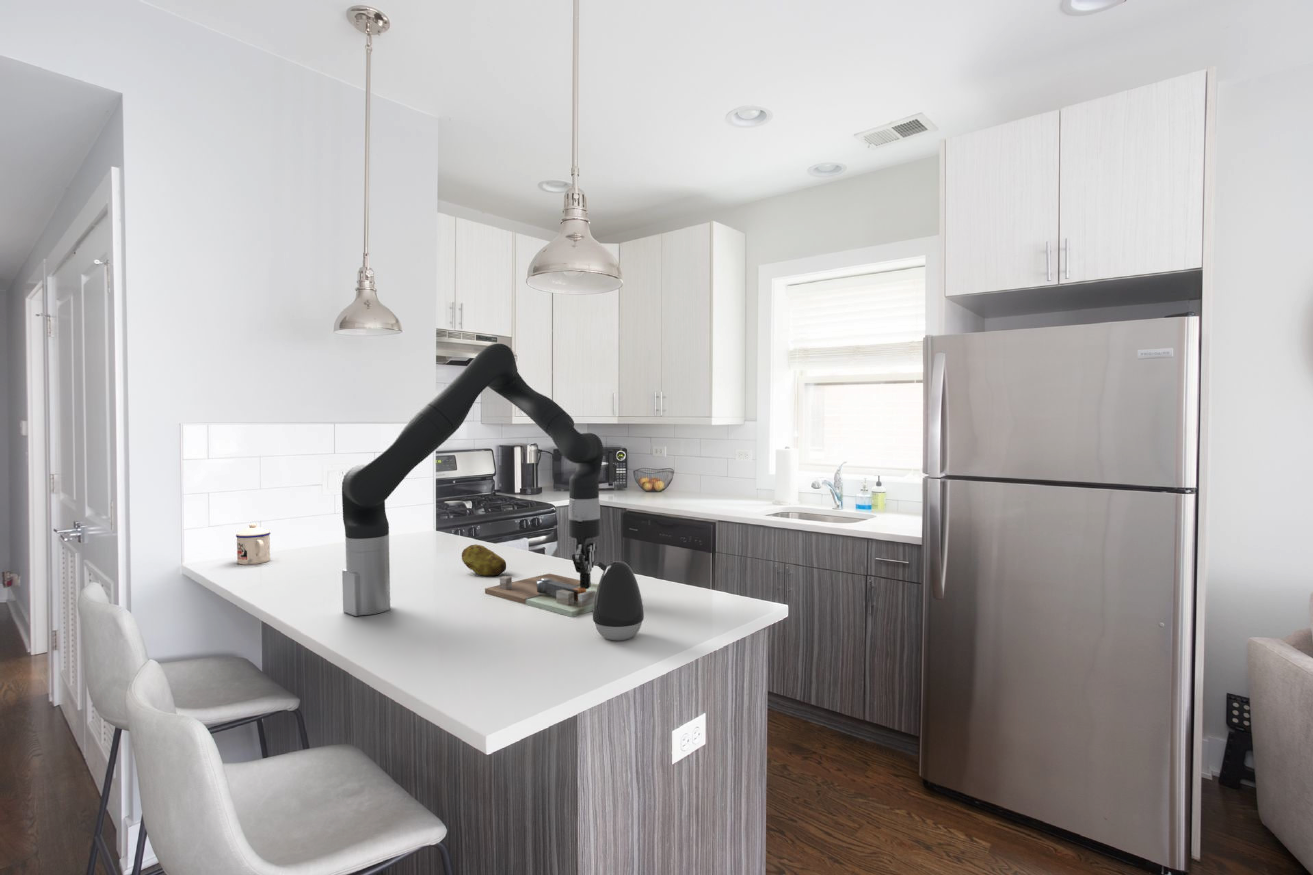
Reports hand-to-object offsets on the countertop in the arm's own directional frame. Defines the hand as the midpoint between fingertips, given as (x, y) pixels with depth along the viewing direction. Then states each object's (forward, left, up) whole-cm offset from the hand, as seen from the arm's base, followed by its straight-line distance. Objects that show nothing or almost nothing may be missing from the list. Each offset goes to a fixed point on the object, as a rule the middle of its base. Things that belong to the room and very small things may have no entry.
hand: (585, 588), depth 166 cm
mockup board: (-1, +8, -3) cm, 8 cm away
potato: (0, +42, -3) cm, 42 cm away
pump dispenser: (-15, -25, -3) cm, 29 cm away
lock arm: (-6, +2, -1) cm, 6 cm away
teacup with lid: (-35, +109, -3) cm, 114 cm away
